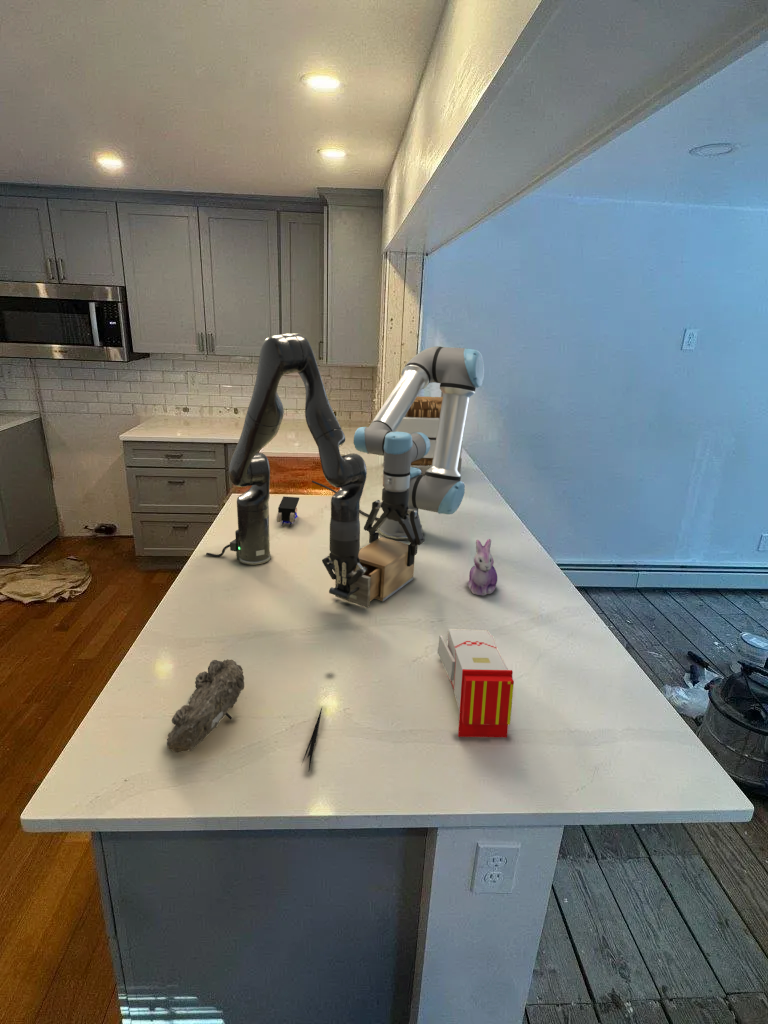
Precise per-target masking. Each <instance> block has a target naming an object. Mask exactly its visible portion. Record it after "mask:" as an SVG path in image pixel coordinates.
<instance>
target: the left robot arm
mask: <svg viewBox="0 0 768 1024" xmlns="http://www.w3.org/2000/svg"><path fill="white" fill-rule="evenodd" d="M260 348H261V349H260V351H259V352H260V353H259V358H258V364H257V371H256V377H255V382H254V386H253V390H252V395H251V398H250V402H249V405H248V408H247V411H246V413H245V418H244V423H243V427H242V429H241V434H240V436H239V439H238V441H237V445H236V447H235V448H234V451H233V454H232V456H231V458H230V460H229V466H228V476H229V480H230V482H231V483H232V484H233V485H234V486H236V487H239V488H240V487H241V488H242V487H243V488H245V487H250V488H248V490H246V491H245V492H243V493H242V494H240V495H238V497H237V499H236V514H237V515H236V516H237V530H235V532H234V534H235V538H234V539H233V540H232V541H230V542H229V544H226V545H225V546H224V547H223V548H222V550H221V553H219V554H218V553H217V554H216V553H211V552H206V553H205V556H209V557H213V558H219V557H222V556H224V554H225V551H226V550H227V549H228V548H229V550H230V552H235V553H236V554H235V555H236V561H239V562H240V563H242V564H245V565H249V566H256V565H257V566H258V565H262V564H266V563H268V562H269V561H270V560H271V548H270V547H271V542H270V541H271V540H270V512H269V511H270V508H269V507H270V506H269V501H270V493H271V492H270V491H271V490H270V488H271V466H270V461H269V459H268V457H267V455H266V454H265V453H263V452H260V451H261V450H262V449H264V448H265V447H266V446H267V445H268V444H270V442H271V441H272V440H273V439H274V438H275V437H276V436H277V435H278V432H279V430H280V427H281V425H282V422H283V419H284V415H285V409H284V404H283V403H282V402H283V401H282V399H281V397H280V396H279V393H278V387H279V384H280V382H281V379H282V377H283V376H285V375H289V374H290V375H291V374H295V373H297V374H298V375H299V377H300V378H301V380H302V382H303V386H304V389H305V390H304V391H305V403H304V404H305V406H304V408H305V409H304V416H305V417H304V418H305V422H306V425H307V428H308V430H309V432H310V434H311V436H312V439H313V440H314V442H315V444H316V446H317V449H318V455H319V456H318V457H319V460H320V464H321V470H322V474H323V476H324V478H325V480H326V481H327V483H329V484H330V485H331V486H332V487H334V488H339V489H338V491H336V492H337V493H334V494H333V495H332V497H331V498H330V520H329V554H328V556H325V557H324V558H322V559H321V562H322V564H323V566H324V567H325V569H326V571H327V573H328V574H329V576H330V578H331V579H332V580H335V581H337V583H338V590H341V591H344V592H347V593H349V592H350V585H352V584H353V583H355V582H356V581H358V579H359V578H360V577H361V576H362V575H363V574H364V573H365V572H366V571H367V568H366V567H364V568H363V567H362V565H361V564H360V559H359V556H358V554H359V550H360V549H361V548H360V547H361V546H360V545H361V521H360V512H359V510H361V508H360V503H361V498H362V495H363V492H364V488H365V484H366V480H367V474H368V469H367V464H366V462H365V460H364V458H363V457H362V456H361V455H360V454H358V453H349V454H348V453H347V454H344V455H341V451H340V447H341V446H342V445H344V443H345V442H346V436H345V433H344V430H343V429H342V426H341V425H340V422H339V421H338V418H337V416H336V415H335V413H334V411H333V407H332V406H331V403H330V401H329V398H328V395H327V392H326V390H325V385H324V382H323V378H322V376H321V372H320V370H319V366H318V363H317V360H316V357H315V354H314V351H313V349H312V346H311V344H310V342H309V340H308V339H307V337H306V336H305V335H303V334H302V333H300V332H288V333H281V334H273V335H270V336H268V337H267V338H265V340H264V341H263V342H262V345H261V347H260ZM355 568H356V571H355V573H356V574H355V575H354V576H353V577H352V574H353V570H354V569H355Z"/></svg>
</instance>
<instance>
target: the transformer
mask: <svg viewBox="0 0 768 1024" xmlns="http://www.w3.org/2000/svg"><path fill="white" fill-rule="evenodd" d="M440 393H441V394H440V396H419V395H418V396H417V397H416V399H415V400H414V402H413V404H412V405H411V407H410V408H409V410H408V412H407V413H406V415H405V416H404V418H403V420H402V421H401V423H400V424H399V426H398V428H397V429H396V431H395V432H406V433H409V434H412V433H414V432H416V433H417V432H420V433H423V434H425V435H426V436H427V437H428V438H429V441H430V450H429V452H428V453H427V454H426V455H425V456H424V457H423V458H421V459H418V460H416V461H414V462H412V463H411V467H417V466H418V467H431V466H432V461H433V455H434V449H435V443H436V437H437V430H438V424H439V418H440V412H441V405H442V399H443V392H442V391H441V392H440ZM463 442H464V441H463V440H462V444H461V450H460V456H459V462H458V468H457V470H458V472H459V474H460V475H461V472H462V461H463V460H462V453H463ZM383 465H384V462H383Z"/></svg>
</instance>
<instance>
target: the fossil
mask: <svg viewBox="0 0 768 1024" xmlns="http://www.w3.org/2000/svg"><path fill="white" fill-rule="evenodd" d="M243 670H244V669H243V667H242V665H240V664H237V662H236V661H235V660H234V659H232V658H231V659H227V658H226V659H224V660H223V661H222V660H217V659H212V660H211V661H210V663H209V665H208V666H207V671H201V672H199V673H198V674H197V675H196V676H195V680H194V684H195V685H194V687H195V689H194V690H193V693H192V694H191V697H190V698H189V700H188V704H184V705H182V706H181V707H180V709H177V710H176V711H175V713H174V715H173V716H172V718H171V723H172V724H173V727H172V730H171V731H170V732H168V734H167V738H166V741H167V742H166V745H167V749H168V750H169V751H173V752H174V753H176V754H178V753H182V752H188V751H189V752H192V751H193V750H195V748H196V747H197V746H199V744H200V743H201V742H203V741H204V740H205V739H206V738H207V737H208V736H209V735H210V734H211V733H212V732H214V730H215V729H217V727H218V726H219V724H220V722H221V721H222V720H223V719H224V718H225V716H226V717H227V719H229V720H233V717H232V715H230V714H229V710H230V709H231V708H234V706H235V704H236V703H237V702H238V699H239V697H240V695H241V693H242V691H243V690H245V689H244V688H245V675H244V671H243Z"/></svg>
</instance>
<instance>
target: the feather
mask: <svg viewBox="0 0 768 1024" xmlns="http://www.w3.org/2000/svg"><path fill="white" fill-rule="evenodd" d="M329 675H330V676H331V675H332V674H331V673H330V674H329ZM322 710H323V707H321V708H320V710H319V713H318V716H317V719H316V723H315V725H314V728H313V731H312V733H311V737H310V739H309V742H308V745H307V748H306V751H305V754H304V757H303V760H302V763H301V767H302V765H303V763H304V761H305V758H308V759H309V760H308V762H307V763H308V764H307V766H308V771H310V770H311V766H312V765H311V764H312V760H313V757H315V756H314V755H315V751H316V749H315V746H317V739H318V733H319V729H320V722H321V717H322V712H323V711H322ZM313 754H314V755H313ZM306 755H307V757H306Z"/></svg>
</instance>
